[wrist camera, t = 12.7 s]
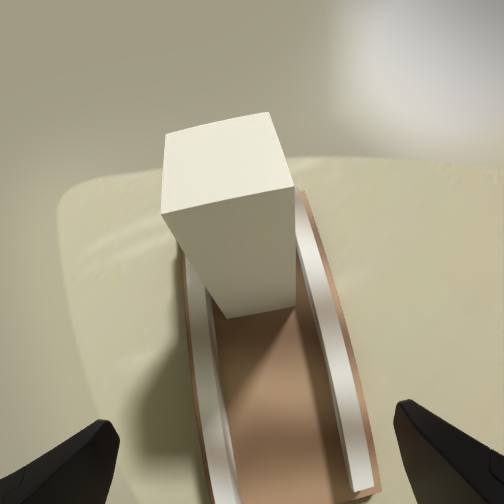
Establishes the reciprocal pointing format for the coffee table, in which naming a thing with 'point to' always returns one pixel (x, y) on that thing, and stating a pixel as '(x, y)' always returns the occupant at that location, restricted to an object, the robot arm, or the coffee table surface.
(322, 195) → the coffee table surface
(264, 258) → the block
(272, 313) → the rail board
